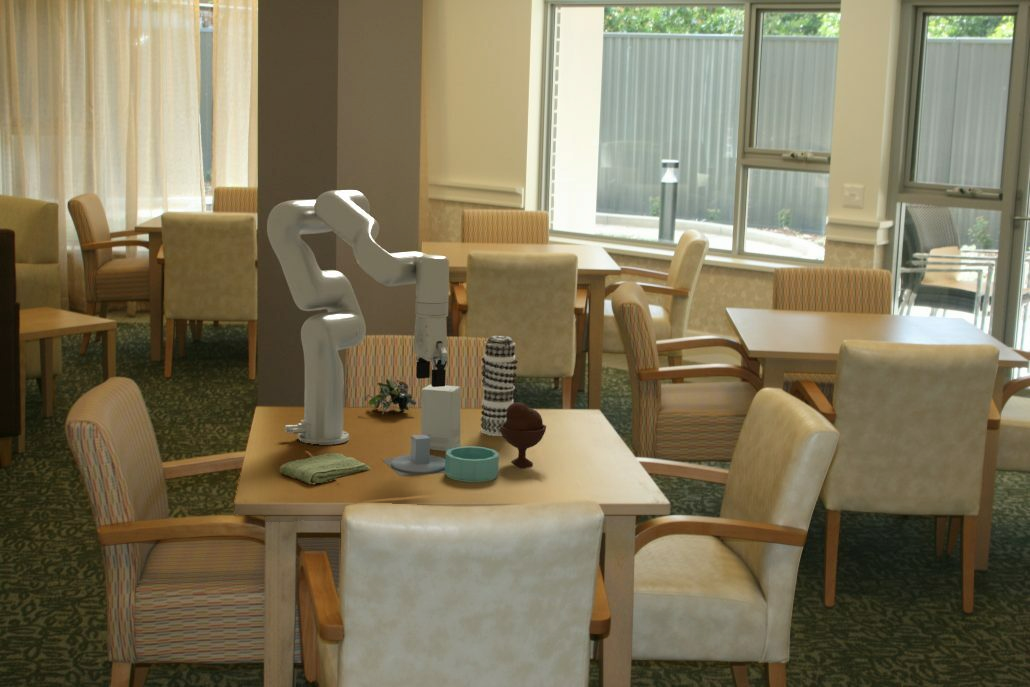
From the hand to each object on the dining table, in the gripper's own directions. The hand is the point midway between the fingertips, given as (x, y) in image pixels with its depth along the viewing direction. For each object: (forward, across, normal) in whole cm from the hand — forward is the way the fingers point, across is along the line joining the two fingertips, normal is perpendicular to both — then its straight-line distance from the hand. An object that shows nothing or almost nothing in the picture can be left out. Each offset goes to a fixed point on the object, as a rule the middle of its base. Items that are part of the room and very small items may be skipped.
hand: (430, 382), depth 293 cm
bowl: (+20, +12, +6) cm, 24 cm away
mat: (+20, +2, -3) cm, 20 cm away
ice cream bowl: (+20, +7, +21) cm, 30 cm away
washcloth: (+20, 0, -25) cm, 32 cm away
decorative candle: (+20, -23, +28) cm, 41 cm away
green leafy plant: (+19, -50, +8) cm, 54 cm away
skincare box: (+20, -12, +7) cm, 24 cm away
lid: (+19, +2, -3) cm, 19 cm away
